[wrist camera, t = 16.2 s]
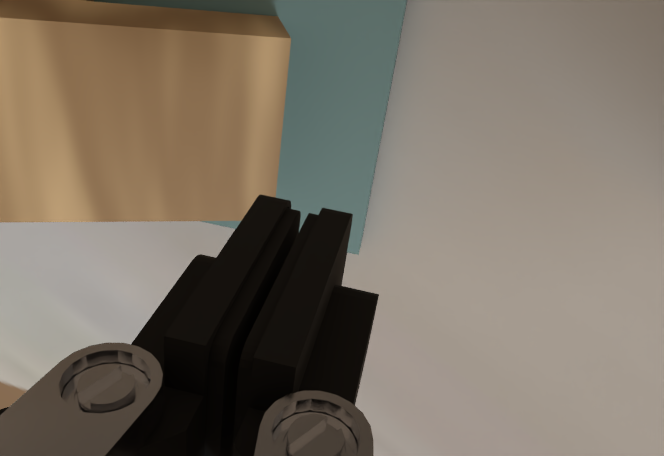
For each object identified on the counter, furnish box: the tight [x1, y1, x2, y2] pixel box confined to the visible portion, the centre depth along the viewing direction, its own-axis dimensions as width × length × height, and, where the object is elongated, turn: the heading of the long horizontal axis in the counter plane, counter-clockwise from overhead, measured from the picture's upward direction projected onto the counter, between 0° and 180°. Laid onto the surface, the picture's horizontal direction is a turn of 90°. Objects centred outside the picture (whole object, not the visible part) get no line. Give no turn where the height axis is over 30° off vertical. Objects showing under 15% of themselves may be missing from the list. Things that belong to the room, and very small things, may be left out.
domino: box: [0, 0, 291, 222], centre depth 15 cm, size 2×5×10 cm
